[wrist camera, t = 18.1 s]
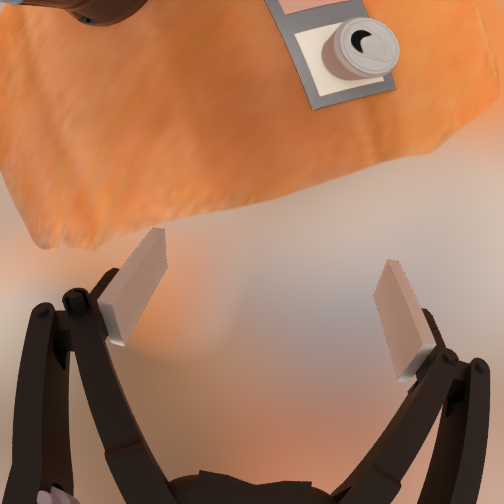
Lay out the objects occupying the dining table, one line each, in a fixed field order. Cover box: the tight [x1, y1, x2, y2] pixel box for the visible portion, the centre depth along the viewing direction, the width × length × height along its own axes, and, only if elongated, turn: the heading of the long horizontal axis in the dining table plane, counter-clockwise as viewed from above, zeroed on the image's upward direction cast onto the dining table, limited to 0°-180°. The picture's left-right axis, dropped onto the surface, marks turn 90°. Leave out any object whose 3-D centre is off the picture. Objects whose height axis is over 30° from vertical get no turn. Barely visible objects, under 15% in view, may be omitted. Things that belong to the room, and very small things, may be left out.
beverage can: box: [322, 17, 400, 81], centre depth 24 cm, size 6×6×12 cm
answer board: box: [265, 0, 396, 110], centre depth 28 cm, size 24×12×2 cm, turn 22°
